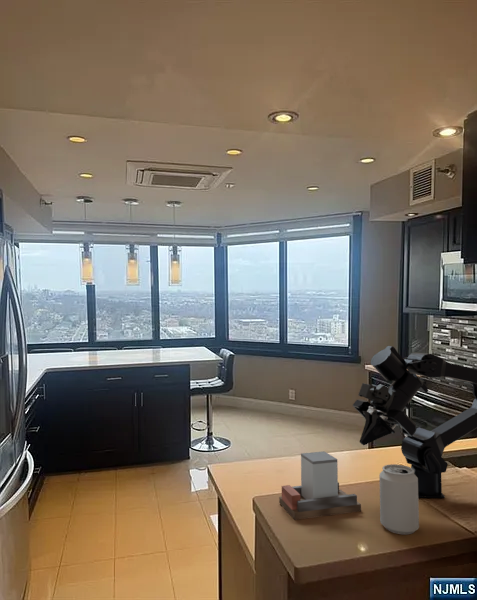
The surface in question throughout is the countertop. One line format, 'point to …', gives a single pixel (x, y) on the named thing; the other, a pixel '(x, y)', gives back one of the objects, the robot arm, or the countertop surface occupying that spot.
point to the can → (399, 499)
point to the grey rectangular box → (318, 475)
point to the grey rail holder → (316, 503)
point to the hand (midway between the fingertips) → (361, 443)
